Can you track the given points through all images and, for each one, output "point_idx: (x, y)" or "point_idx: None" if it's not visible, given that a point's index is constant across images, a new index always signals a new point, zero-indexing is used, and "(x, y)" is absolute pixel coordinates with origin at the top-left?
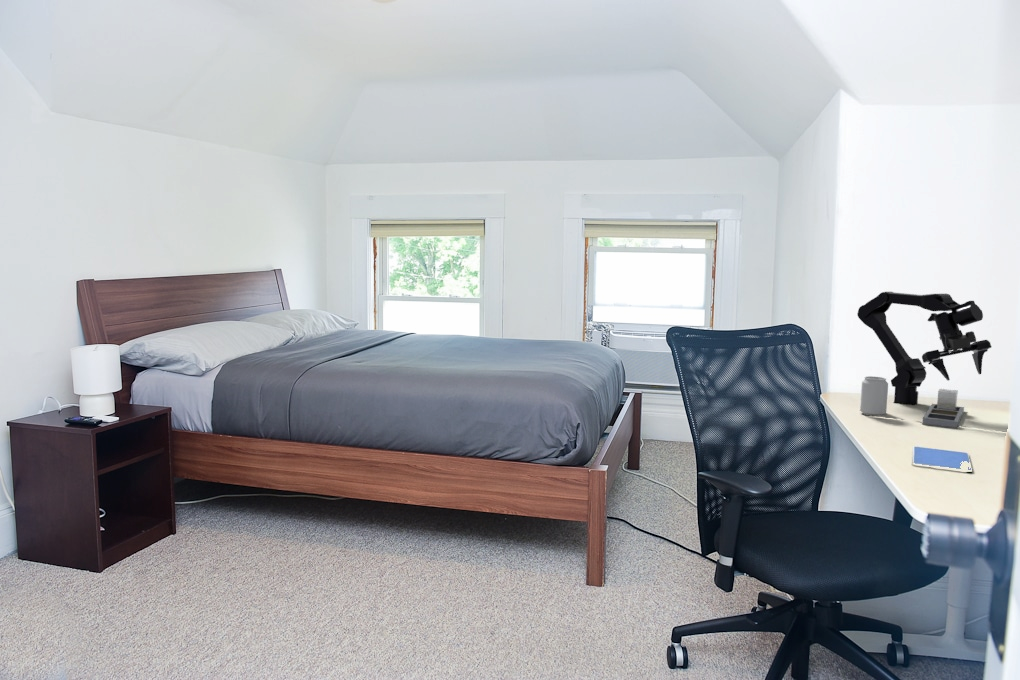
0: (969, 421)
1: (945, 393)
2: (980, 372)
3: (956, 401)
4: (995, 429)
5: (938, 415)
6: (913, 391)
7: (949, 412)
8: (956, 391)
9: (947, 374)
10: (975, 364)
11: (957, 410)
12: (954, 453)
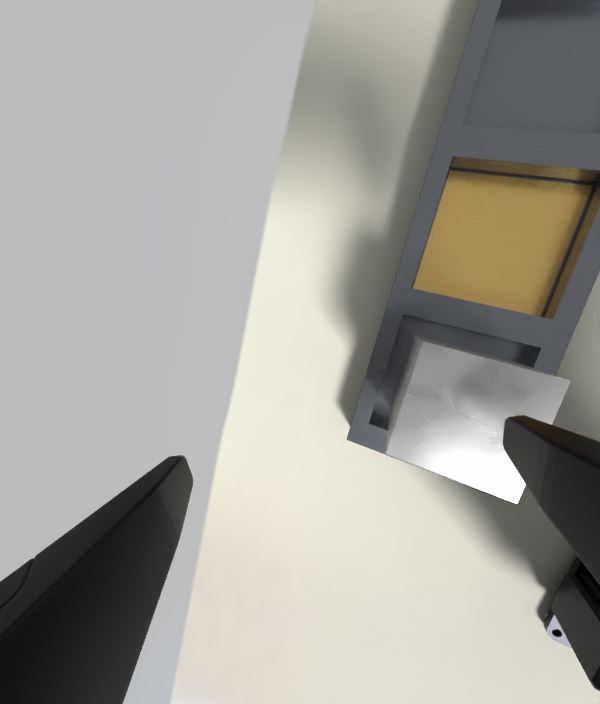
0: (373, 230)
1: (501, 361)
2: (168, 462)
3: (398, 395)
4: (304, 89)
5: (562, 137)
6: None
7: (452, 299)
8: (407, 404)
9: (575, 450)
10: (134, 641)
11: (380, 422)
12: None
